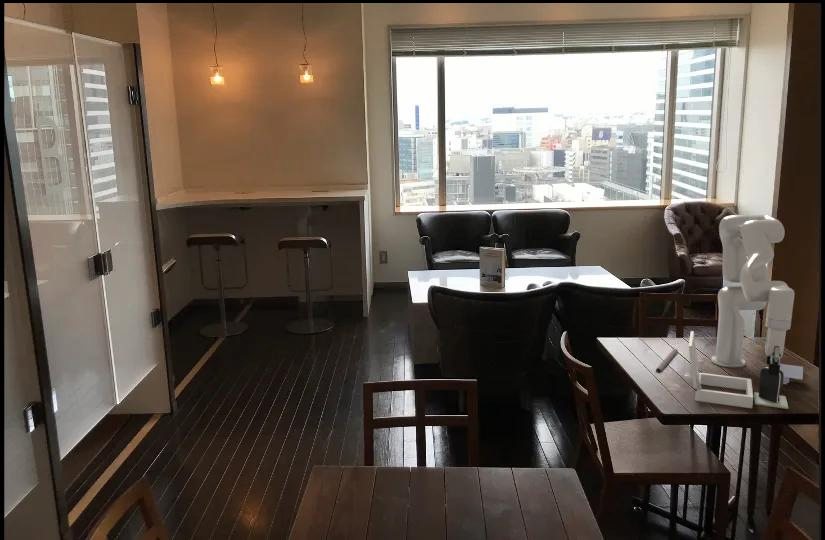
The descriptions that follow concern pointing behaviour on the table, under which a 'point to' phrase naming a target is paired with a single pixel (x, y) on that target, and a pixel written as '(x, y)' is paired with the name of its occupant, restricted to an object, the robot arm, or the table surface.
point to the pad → (764, 402)
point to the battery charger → (770, 385)
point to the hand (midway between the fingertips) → (772, 369)
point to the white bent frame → (718, 384)
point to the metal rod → (667, 360)
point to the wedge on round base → (791, 372)
